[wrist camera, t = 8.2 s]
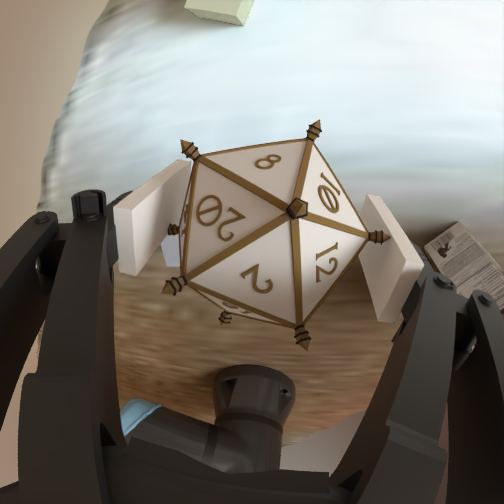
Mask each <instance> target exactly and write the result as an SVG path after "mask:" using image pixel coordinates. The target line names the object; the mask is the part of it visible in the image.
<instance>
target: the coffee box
mask: <svg viewBox="0 0 504 504" xmlns="http://www.w3.org/2000/svg"><path fill="white" fill-rule="evenodd" d="M424 250H425V252H426V254H427V255H428V257H429V259H430V261H431V263H432V265H433V267H434V269H435V270H436V272H438V273H441V274H443V275H445V276H446V277H448V278H449V279H450V280H451V281H453V283H454V284H455V286H456V289H457V294H459V295H461V296H464V297H466V298H468V299H469V297H470V295H471V294H472V292H473V291H474V290H476V289H478V290H482V291H484V292H487V293H488V294H490V295H491V296H492V298H493V299H494V300H495V302H496V303H497V305H498V307H499V310H500V312H501V314H502V317H503V319H504V271H503V270H502V269H501V267H500V266H499V265H498V264H497V263H496V261H495V260H494V259H493V258H492V257H491V256H490V254H489V253H488V252H487V251H486V250H485V249H484V248H483V246H482V245H481V244H480V243H479V242H478V241H477V240H476V239H475V237H474V236H473V235H472V234H471V233H470V232H469V231H468V230H467V229H466V228H465V227H464V226H463V225H462V224H461V223H460V222H457V223H456V224H454V225H453V226H452V227H450V228H449V229H447V230H446V231H445V232H443V233H442V234H440V235H439V236H438V237H436V238H435V239H433V240H432V241H430V242H429V243H428V244H426V245H425V246H424ZM475 345H476V342H475V344H474V346H475Z"/></svg>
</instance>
